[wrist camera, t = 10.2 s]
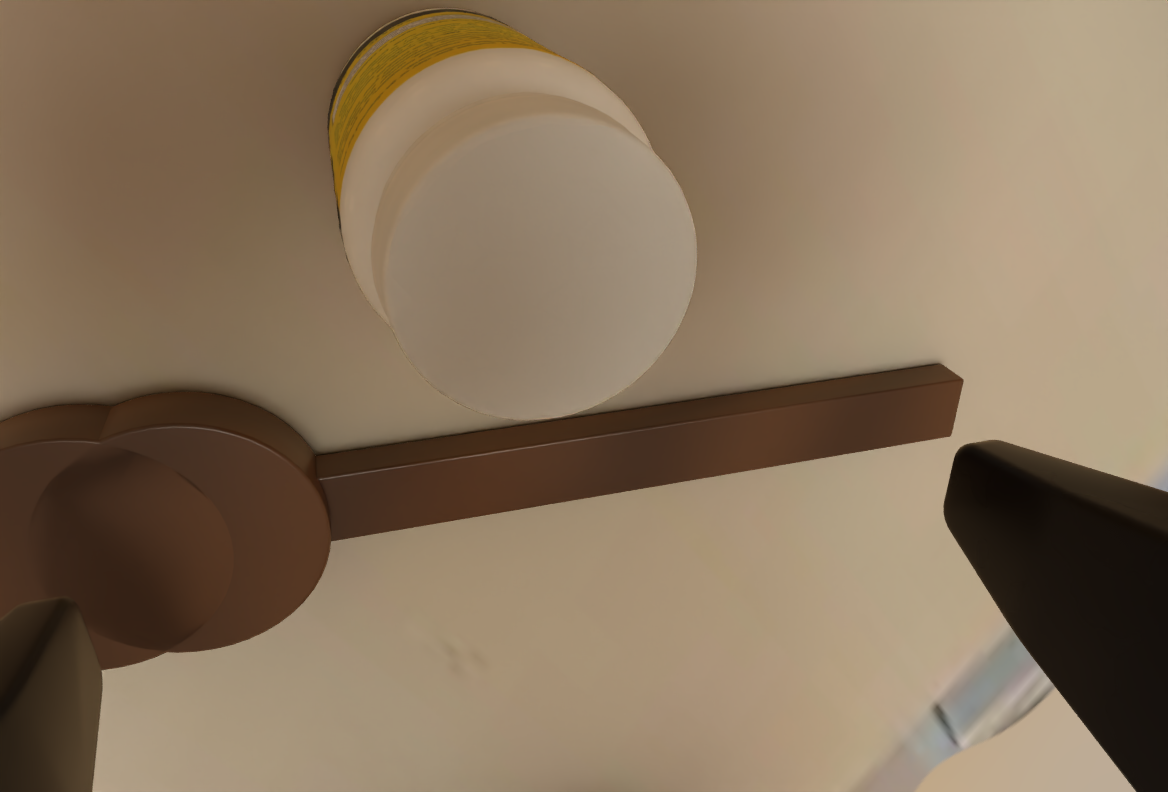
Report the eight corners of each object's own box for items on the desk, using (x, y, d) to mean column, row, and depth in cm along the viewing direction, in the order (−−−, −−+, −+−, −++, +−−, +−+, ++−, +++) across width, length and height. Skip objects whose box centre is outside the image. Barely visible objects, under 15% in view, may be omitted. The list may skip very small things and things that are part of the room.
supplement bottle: (273, 130, 17) (253, 286, 10) (446, -52, 16) (559, -29, 9) (452, 290, 19) (538, 508, 12) (607, 137, 19) (795, 272, 12)
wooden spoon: (957, 291, 23) (994, 313, 22) (917, 481, 26) (948, 509, 25) (-110, 425, 17) (-142, 464, 16) (-10, 648, 20) (-30, 697, 19)
